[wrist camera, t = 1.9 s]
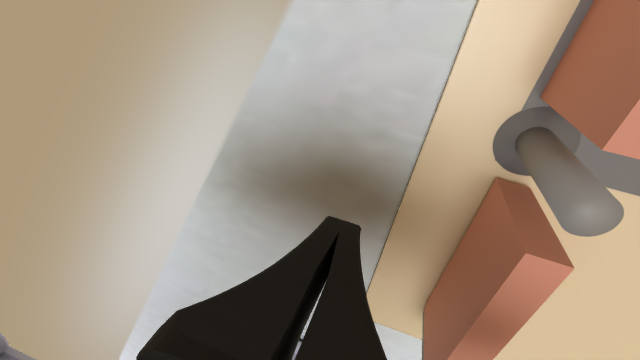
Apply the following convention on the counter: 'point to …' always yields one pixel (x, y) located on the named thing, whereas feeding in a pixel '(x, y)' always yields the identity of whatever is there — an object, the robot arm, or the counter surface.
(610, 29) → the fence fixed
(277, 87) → the counter surface
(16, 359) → the robot arm
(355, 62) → the counter surface
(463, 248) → the fence gate
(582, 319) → the card
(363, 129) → the counter surface
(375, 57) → the counter surface
